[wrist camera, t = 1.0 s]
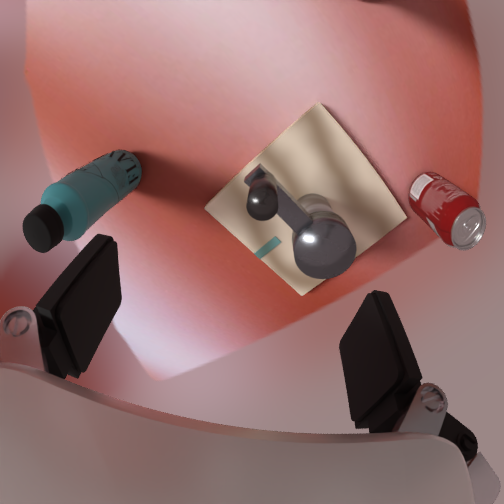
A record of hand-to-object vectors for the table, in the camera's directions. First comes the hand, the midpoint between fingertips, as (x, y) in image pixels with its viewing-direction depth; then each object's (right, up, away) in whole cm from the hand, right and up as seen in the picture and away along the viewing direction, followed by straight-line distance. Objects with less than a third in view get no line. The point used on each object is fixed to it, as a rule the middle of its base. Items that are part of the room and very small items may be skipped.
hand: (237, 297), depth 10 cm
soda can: (+26, +10, +26) cm, 38 cm away
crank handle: (+5, +5, +19) cm, 21 cm away
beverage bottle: (-17, +13, +27) cm, 34 cm away
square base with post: (+8, +8, +28) cm, 30 cm away
